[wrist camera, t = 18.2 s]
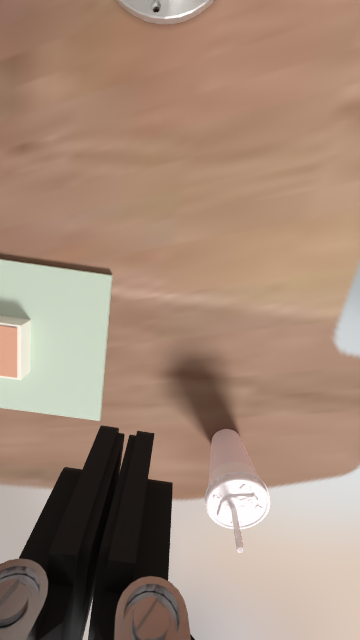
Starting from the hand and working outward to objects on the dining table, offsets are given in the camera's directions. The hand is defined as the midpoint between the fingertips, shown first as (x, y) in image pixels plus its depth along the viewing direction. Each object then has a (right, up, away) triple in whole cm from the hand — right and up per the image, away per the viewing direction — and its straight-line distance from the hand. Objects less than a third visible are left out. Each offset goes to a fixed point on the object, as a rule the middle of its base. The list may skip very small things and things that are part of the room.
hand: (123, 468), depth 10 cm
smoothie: (+8, -11, +31) cm, 34 cm away
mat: (-17, +2, +27) cm, 32 cm away
